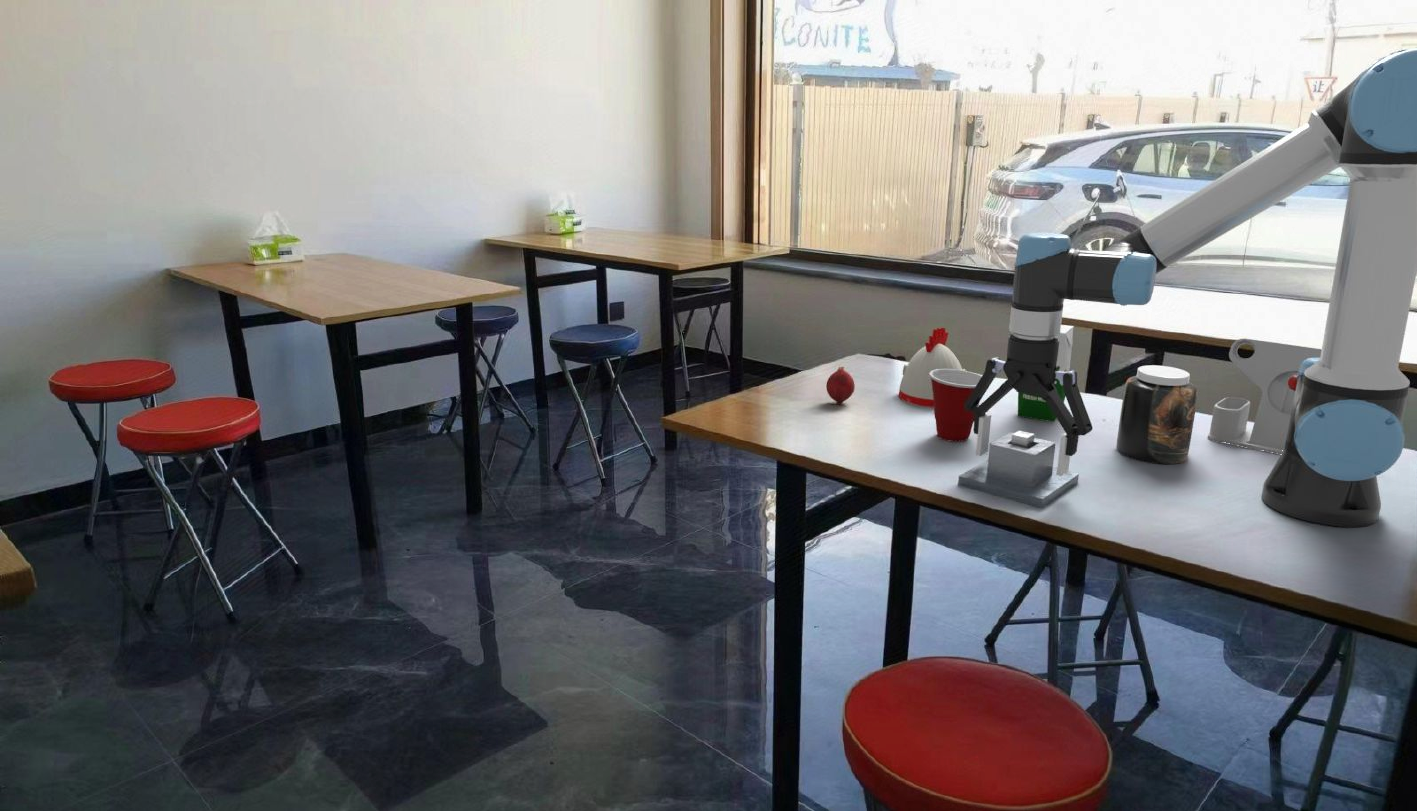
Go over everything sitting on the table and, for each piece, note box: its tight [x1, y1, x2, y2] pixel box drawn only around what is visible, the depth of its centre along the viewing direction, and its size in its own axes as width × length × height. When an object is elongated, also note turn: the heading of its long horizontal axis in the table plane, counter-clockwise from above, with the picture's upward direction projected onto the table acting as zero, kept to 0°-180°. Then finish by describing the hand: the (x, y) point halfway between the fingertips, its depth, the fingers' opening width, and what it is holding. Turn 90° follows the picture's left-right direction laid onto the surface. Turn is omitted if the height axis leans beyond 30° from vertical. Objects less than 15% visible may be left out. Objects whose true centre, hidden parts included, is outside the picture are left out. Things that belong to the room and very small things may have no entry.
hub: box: [987, 432, 1056, 488], centre depth 149 cm, size 8×8×6 cm
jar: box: [1116, 364, 1198, 465], centre depth 162 cm, size 12×12×15 cm
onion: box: [825, 365, 856, 404], centre depth 191 cm, size 6×6×8 cm
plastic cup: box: [929, 369, 983, 442], centre depth 171 cm, size 11×11×12 cm
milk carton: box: [1017, 324, 1075, 423], centre depth 182 cm, size 9×9×20 cm
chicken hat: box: [898, 327, 967, 408], centre depth 195 cm, size 14×14×15 cm
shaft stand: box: [957, 430, 1080, 509], centre depth 149 cm, size 14×14×8 cm
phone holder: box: [1207, 338, 1322, 454], centre depth 166 cm, size 17×10×18 cm, turn 46°
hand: (1020, 463), depth 149 cm, fingers open, 13 cm apart
